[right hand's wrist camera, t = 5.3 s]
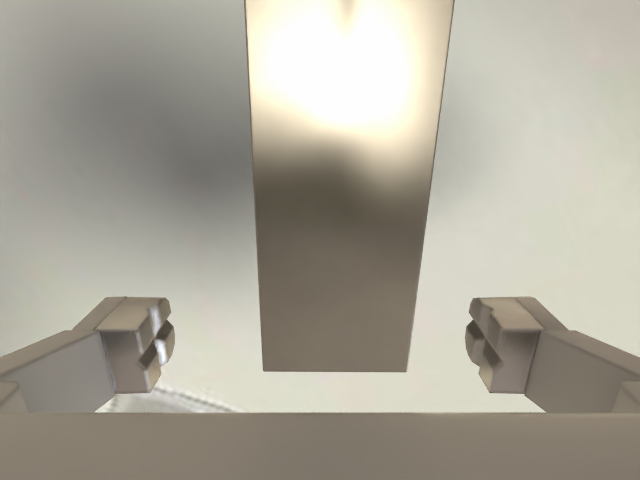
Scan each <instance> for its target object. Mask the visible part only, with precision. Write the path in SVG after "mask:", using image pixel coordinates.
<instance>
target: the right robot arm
mask: <svg viewBox="0 0 640 480" xmlns="http://www.w3.org/2000/svg"><path fill="white" fill-rule="evenodd" d="M170 313H171V309H170V304H169V301H168V300H167V299H166V298H157V297H107V298H105V299H104V300H103V301H102V302H101V303H100V304H99V305H98V306H96V307H95V308H94V309H93V310H92V311H91V312H90V313H89V314H88V315H87V316H86V317H85V318H84V319H83V320H82V321H81V322H80V323H78V324H77V325H76V326H75V327H74V328H73V329H72V330H71V331H63V332H60V333H58V334H55V335H53V336H51V337H48V338H46V339H43V340H41V341H39V342H36V343H34V344H32V345H29V346H27V347H24V348H22V349H20V350H17V351H15V352H13V353H10V354H8V355H5V356H3V357H1V358H0V480H640V358H639V357H637V356H634V355H632V354H630V353H627V352H625V351H623V350H620V349H618V348H615V347H613V346H611V345H608V344H606V343H604V342H601V341H599V340H596V339H594V338H592V337H589V336H587V335H585V334H582V333H580V332H577V331H569V330H568V329H567V328H566V327H565V326H564V325H563V324H562V323H561V322H559V321H558V320H557V319H556V318H555V317H554V316H553V315H552V314H551V313H550V312H549V311H548V310H547V309H546V308H545V307H544V306H543V305H542V304H540V303H539V302H538V301H537V300H536V299H535V298H533V297H494V298H473V300H472V302H471V304H470V309H469V313H470V315H471V316H472V318H473V320H472V321H471V322H470V323H469V325H468V326H467V327H466V334H465V342H466V349H467V352H468V355H469V357H470V359H471V361H472V362H473V363H475V364H476V365H478V366H479V367H480V369H479V375H480V377H481V379H482V380H483V382H484V384H485V386H486V387H487V389H488V391H489V393H513V394H525V396H526V397H527V398H529V399H530V400H531V401H533V402H534V403H535V404H537V405H538V406H539V407H540V408H542V409H543V410H544V411H546V412H547V413H93V412H94V411H96V410H97V409H98V408H100V407H101V406H102V405H104V404H105V403H106V402H108V401H109V400H110V399H111V398H113V397H114V396H115V394H127V393H151V391H152V389H153V387H154V386H155V384H156V382H157V380H158V379H159V377H160V375H161V369H160V367H161V366H162V365H164V364H165V363H167V362H168V361H169V359H170V357H171V355H172V353H173V348H174V344H175V333H174V327H173V326H172V325H171V323H170V322H169V321H168V320H167V318H168V316H169V315H170Z"/></svg>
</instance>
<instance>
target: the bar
mask: <svg viewBox="0 0 640 480" xmlns="http://www.w3.org/2000/svg"><path fill="white" fill-rule="evenodd" d="M454 1H455V0H244V6H245V25H246V45H247V65H248V85H249V104H250V124H251V144H252V163H253V183H254V203H255V223H256V242H257V262H258V282H259V301H260V321H261V341H262V360H263V371H275V372H407V368H408V360H409V353H410V345H411V337H412V329H413V321H414V314H415V306H416V298H417V290H418V282H419V274H420V267H421V259H422V251H423V243H424V235H425V228H426V220H427V212H428V204H429V196H430V189H431V181H432V173H433V165H434V157H435V149H436V142H437V134H438V126H439V118H440V110H441V103H442V95H443V87H444V79H445V71H446V64H447V56H448V48H449V40H450V32H451V24H452V17H453V9H454Z"/></svg>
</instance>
